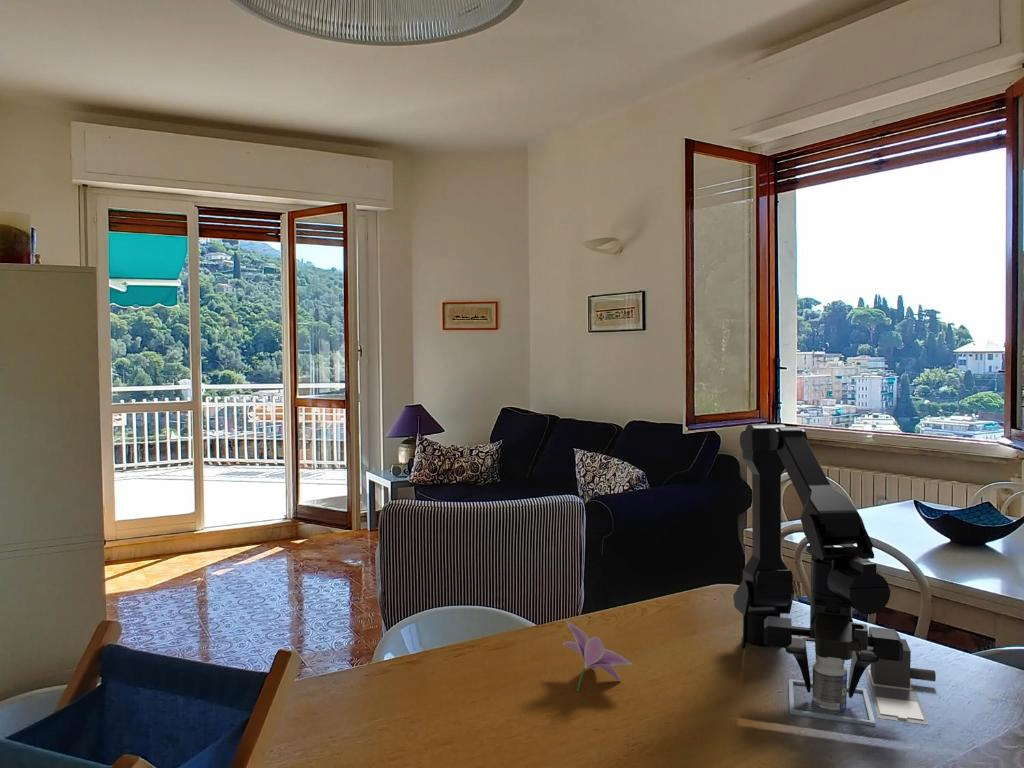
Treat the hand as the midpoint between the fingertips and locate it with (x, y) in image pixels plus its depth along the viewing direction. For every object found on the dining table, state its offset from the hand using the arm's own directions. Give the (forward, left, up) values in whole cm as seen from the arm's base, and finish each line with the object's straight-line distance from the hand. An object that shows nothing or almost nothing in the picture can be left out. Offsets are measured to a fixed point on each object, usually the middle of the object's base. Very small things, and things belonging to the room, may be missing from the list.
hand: (829, 694), depth 115 cm
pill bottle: (0, 0, -2) cm, 2 cm away
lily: (-35, -3, -2) cm, 35 cm away
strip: (+10, +6, -2) cm, 11 cm away
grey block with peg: (+11, +11, -1) cm, 16 cm away
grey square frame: (0, 0, -2) cm, 2 cm away
